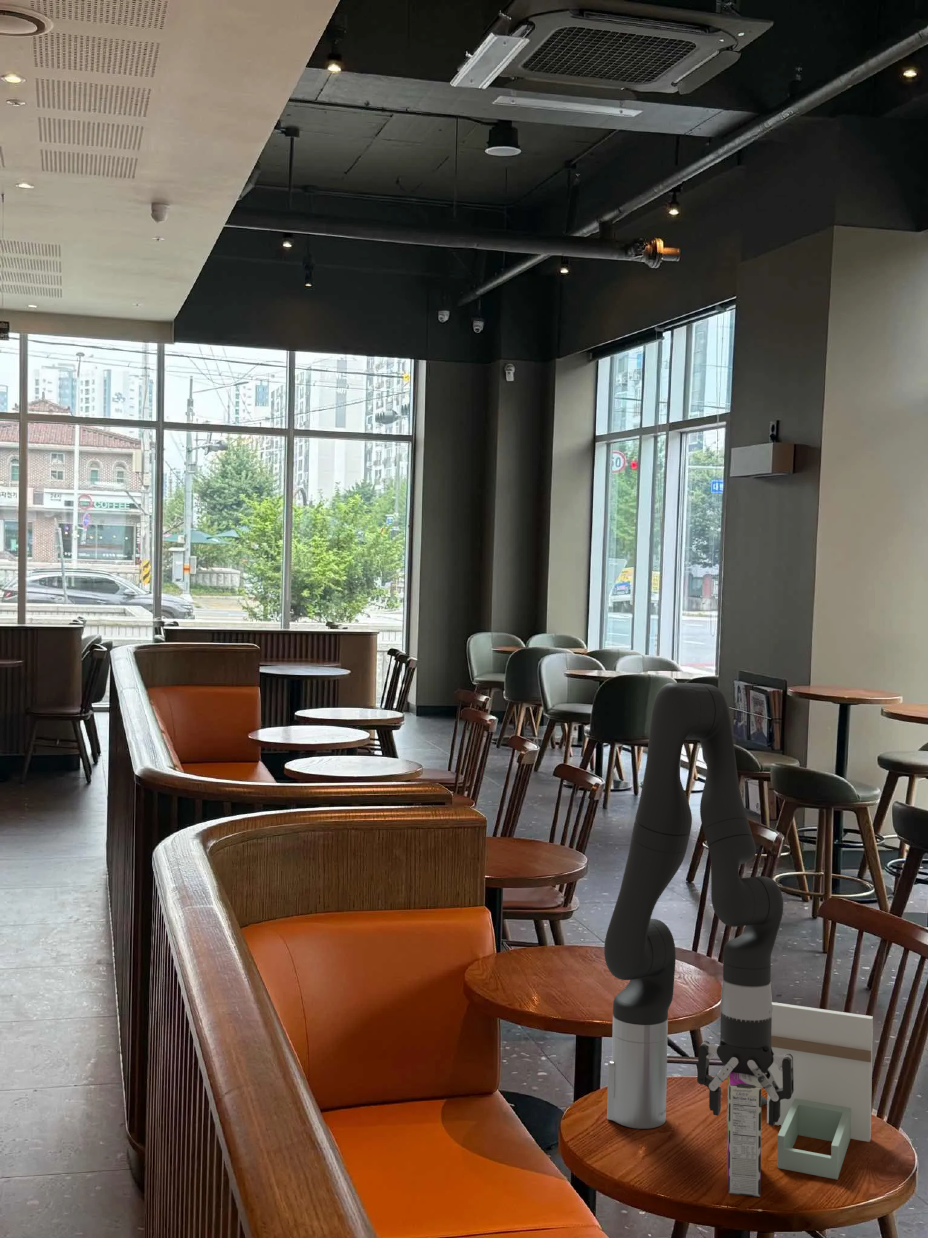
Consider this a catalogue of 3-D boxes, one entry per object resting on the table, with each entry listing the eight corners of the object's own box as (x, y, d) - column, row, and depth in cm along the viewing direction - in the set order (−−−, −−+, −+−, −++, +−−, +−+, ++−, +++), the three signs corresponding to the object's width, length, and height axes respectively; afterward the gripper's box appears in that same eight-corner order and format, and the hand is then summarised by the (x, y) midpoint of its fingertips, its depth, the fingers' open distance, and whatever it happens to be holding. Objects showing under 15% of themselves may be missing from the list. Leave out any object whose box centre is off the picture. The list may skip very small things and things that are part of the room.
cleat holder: (747, 1162, 190) (750, 1033, 190) (768, 1120, 206) (770, 1002, 206) (858, 1184, 183) (860, 1050, 183) (870, 1139, 200) (872, 1016, 200)
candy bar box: (725, 1162, 190) (727, 1056, 190) (758, 1166, 189) (760, 1059, 189) (726, 1195, 179) (728, 1083, 179) (761, 1199, 178) (763, 1086, 178)
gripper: (693, 1010, 183) (691, 1119, 183) (790, 1024, 178) (788, 1137, 177) (704, 997, 190) (703, 1102, 190) (798, 1010, 184) (796, 1118, 184)
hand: (744, 1119), depth 184 cm, fingers open, 8 cm apart
